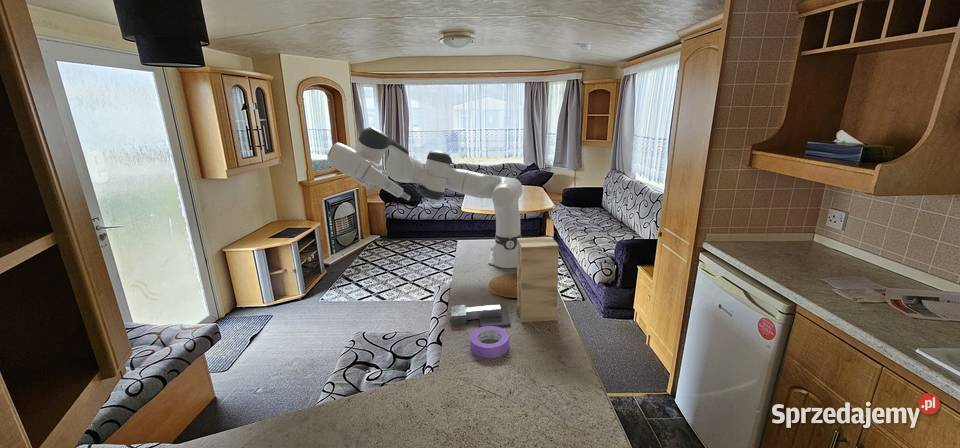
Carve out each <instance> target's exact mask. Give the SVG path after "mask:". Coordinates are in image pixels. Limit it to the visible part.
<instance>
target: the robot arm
mask: <svg viewBox="0 0 960 448" xmlns="http://www.w3.org/2000/svg"><path fill="white" fill-rule="evenodd" d="M359 134H360V135H359V137H358V140H357V143H356V145H355V147H354V148H353V147H350V146H348V145H346V144H344V143H341V142H336V143H334V144H333V145H332V146H331V147H330V150H329V151H328V154H327V159H326V160H327V162H328V163H329V164H330V165H331V166H332V167H333V168H334V169H336V170H337V171H339V172H340V173H341V174H343V175H345V176H348V177H350V178H352V179H353V180H354V181H355V182H356V183H358V184H360V185H361V186H363V187H364V188H366V189H368V190H370V189H372V188H373V189H376V188H381V189H382V190H384V191H386V192H387V193H390V194H391V195H393V196H394V197H396V198H403V199H404V200H407V201H410V199H411V198H412V197H411V195H410V194H408V193H406V192H405V190H404V188H403V187H401V186H400V185H398V184H397V183H396V182H398V183H405V184H409V183H412V184H413V183H415V184H417V185H418V186H416V189H417V190H418V193H419V194H420V195H421V197H423V198H424V199H426V200H428V201H431V202H434V201H435V202H436V201H440V200H442V199H443V198H444V195H445V191H446V189H449V190H451V191H453V192H455V193H459V194H461V195H465V196H469V197H472V198H477V199H490V200H492V203H493V209H494V214H495V236H494V238H495V239H494V241H495V242H494V244H493V245H492V246H490V254H489V258H488V262H487V263H488V265H491V266H495V267H498V268H501V269H514V268H515V269H517V238H523V237H522V233H521V215H520V208H519V199H520V198H521V197H522V194H523V185H522V182H521V181H520V180H519V179H517V178H516V177H508V176H501V175H494V174H492V175H491V174H486V173H481V172H477V171H473V170H468V169H464V168H453V167H452V166H451V165H455V163H454V162H453V160H452V157H451V155H449V154H448V153H447V152H445V151H443V150H437V149H436V150H430V151H429V152H428V154H427V156H426V162H425V164H423V163H422V162H421V161H420V160H417V159H416V158H414V157H411V156H410V155H409V154H410V153H409V152H410V151H409V149H407V148H406V147H404V146H403V145H402V144H400V143H399V142H397V141H395V140H393V138H390V137H389V136H387V134H386V133H384V131H382V130H381V129H379V128H378V127H377V128H376V127H372V126H370V127H366V128H364V129H362V130H361V131H360V133H359ZM387 150H389V152H388V156H387V159H386V163H385V169H386V173H387V175H388V177H390V178H388V177H387V176H386V174H385V171H384V167H383V165H381V164H380V163H381V161H382V159H383V158H384V155H385V153H386V151H387ZM392 180H393V181H392ZM394 181H395V182H394Z"/></svg>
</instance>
